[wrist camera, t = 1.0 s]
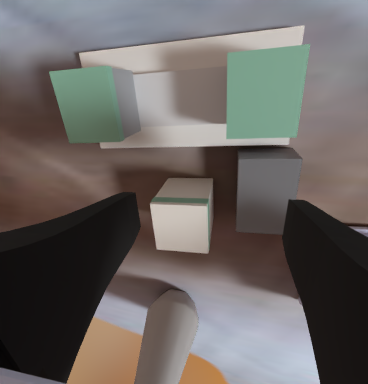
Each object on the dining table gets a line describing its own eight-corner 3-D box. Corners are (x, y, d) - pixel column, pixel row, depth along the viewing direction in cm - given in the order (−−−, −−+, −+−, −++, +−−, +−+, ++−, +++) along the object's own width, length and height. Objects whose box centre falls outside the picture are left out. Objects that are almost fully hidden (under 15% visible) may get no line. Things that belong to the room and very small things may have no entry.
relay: (282, 214, 19) (289, 235, 17) (235, 212, 20) (235, 231, 18) (291, 147, 17) (302, 158, 14) (238, 148, 18) (238, 159, 15)
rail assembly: (286, 142, 17) (306, 163, 12) (105, 146, 20) (66, 164, 15) (300, 28, 14) (335, -1, 9) (85, 54, 17) (29, 42, 12)
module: (214, 218, 21) (208, 254, 16) (172, 216, 22) (156, 249, 17) (213, 177, 19) (207, 205, 15) (168, 177, 20) (149, 203, 15)
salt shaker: (185, 323, 28) (152, 487, 17) (146, 301, 28) (86, 453, 16) (210, 300, 26) (192, 476, 14) (168, 275, 25) (113, 436, 14)
